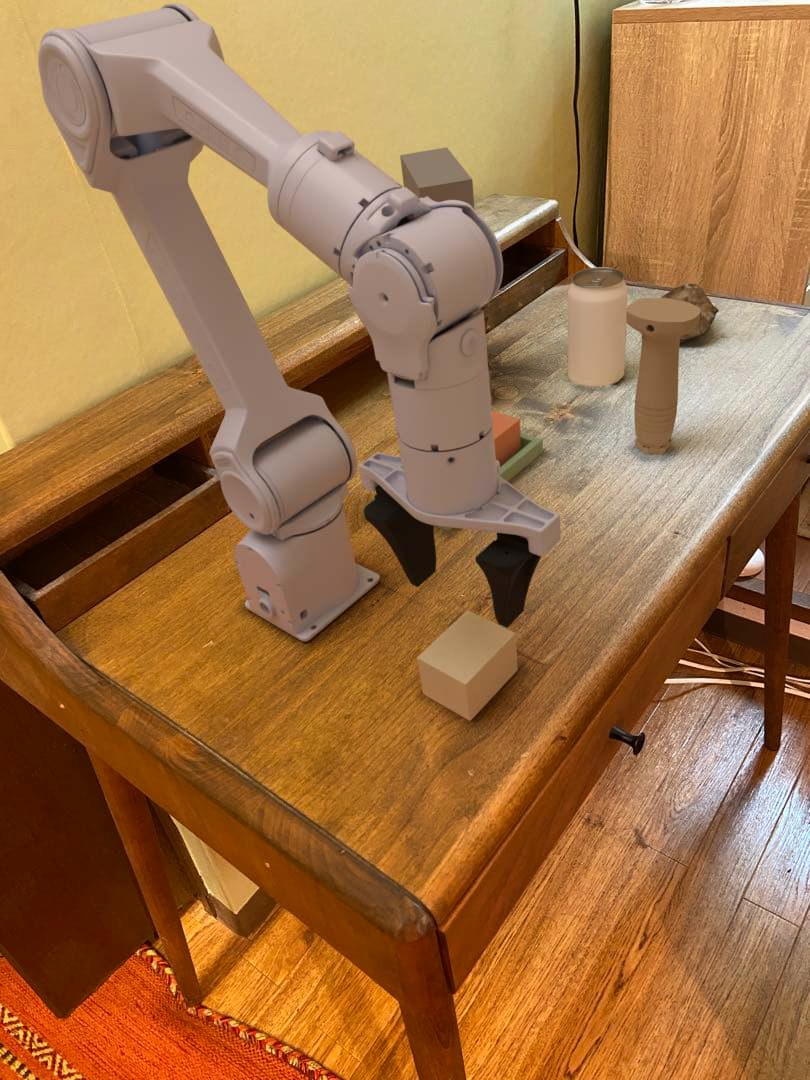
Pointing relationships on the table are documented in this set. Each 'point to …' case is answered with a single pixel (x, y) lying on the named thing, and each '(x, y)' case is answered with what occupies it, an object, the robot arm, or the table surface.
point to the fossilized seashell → (699, 299)
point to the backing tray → (519, 459)
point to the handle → (658, 367)
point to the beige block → (468, 664)
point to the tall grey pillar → (438, 182)
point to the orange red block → (506, 437)
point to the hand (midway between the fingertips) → (465, 596)
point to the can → (597, 326)
